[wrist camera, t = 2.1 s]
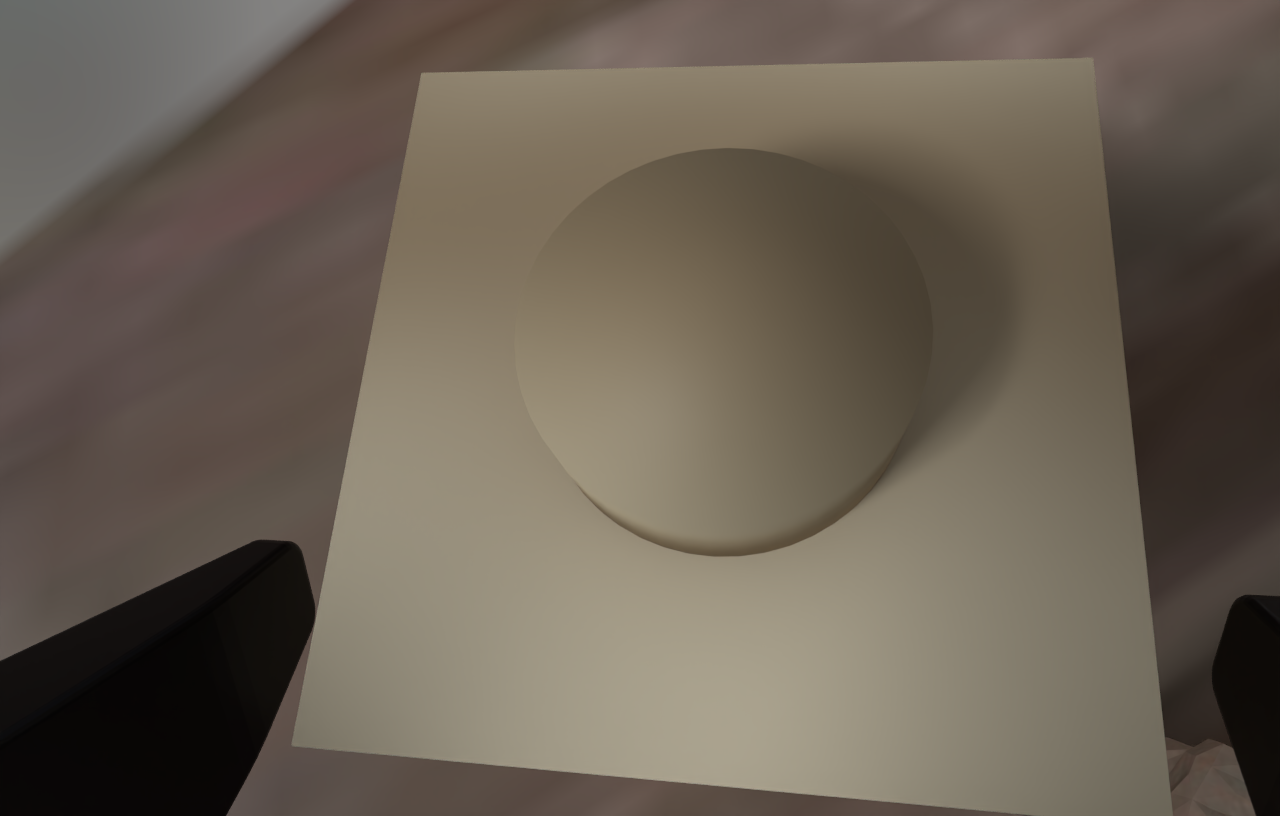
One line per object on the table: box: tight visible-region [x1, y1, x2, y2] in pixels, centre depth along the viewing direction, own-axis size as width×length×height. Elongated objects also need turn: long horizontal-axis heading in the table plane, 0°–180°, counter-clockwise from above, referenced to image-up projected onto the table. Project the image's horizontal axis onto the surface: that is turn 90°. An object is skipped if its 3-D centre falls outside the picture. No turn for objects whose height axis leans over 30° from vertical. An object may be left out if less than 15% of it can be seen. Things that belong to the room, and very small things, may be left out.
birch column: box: [291, 58, 1173, 816], centre depth 11 cm, size 5×5×13 cm
